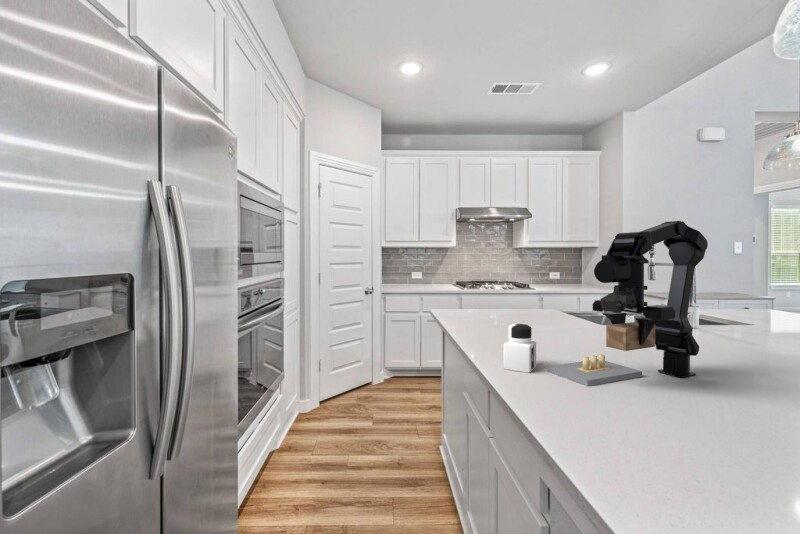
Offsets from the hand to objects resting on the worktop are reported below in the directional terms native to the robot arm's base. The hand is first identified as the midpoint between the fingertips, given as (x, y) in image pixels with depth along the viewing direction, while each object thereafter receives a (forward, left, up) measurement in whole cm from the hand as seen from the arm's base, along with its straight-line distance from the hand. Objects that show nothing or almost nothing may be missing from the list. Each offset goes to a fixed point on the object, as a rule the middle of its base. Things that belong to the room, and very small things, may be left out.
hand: (630, 342), depth 99 cm
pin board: (+1, -11, -11) cm, 15 cm away
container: (+16, -24, -11) cm, 30 cm away
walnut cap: (0, 0, -1) cm, 1 cm away
